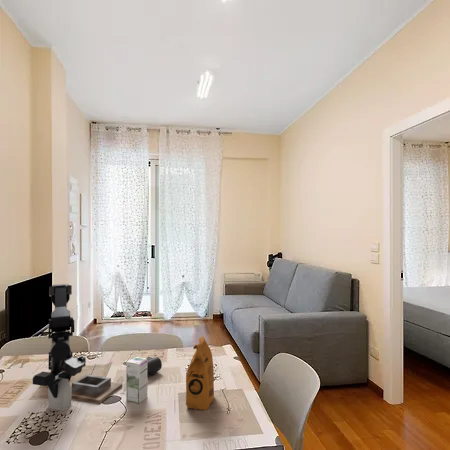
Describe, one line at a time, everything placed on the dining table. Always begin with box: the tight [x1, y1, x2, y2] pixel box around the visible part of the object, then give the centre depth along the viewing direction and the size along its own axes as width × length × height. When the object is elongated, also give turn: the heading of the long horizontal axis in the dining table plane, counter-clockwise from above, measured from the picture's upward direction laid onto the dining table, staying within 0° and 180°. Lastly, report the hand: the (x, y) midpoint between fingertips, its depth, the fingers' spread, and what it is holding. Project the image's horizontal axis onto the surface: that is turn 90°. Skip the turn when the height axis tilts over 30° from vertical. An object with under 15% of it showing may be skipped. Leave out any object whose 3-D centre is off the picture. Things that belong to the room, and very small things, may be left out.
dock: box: [70, 374, 123, 404], centre depth 133 cm, size 18×14×4 cm
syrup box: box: [125, 356, 148, 404], centre depth 127 cm, size 6×6×14 cm
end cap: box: [146, 356, 163, 378], centre depth 148 cm, size 10×7×7 cm
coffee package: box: [185, 336, 215, 411], centre depth 125 cm, size 10×12×22 cm
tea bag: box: [47, 378, 72, 412], centre depth 121 cm, size 4×7×10 cm, turn 71°
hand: (59, 395), depth 121 cm, fingers closed on tea bag, 4 cm apart
